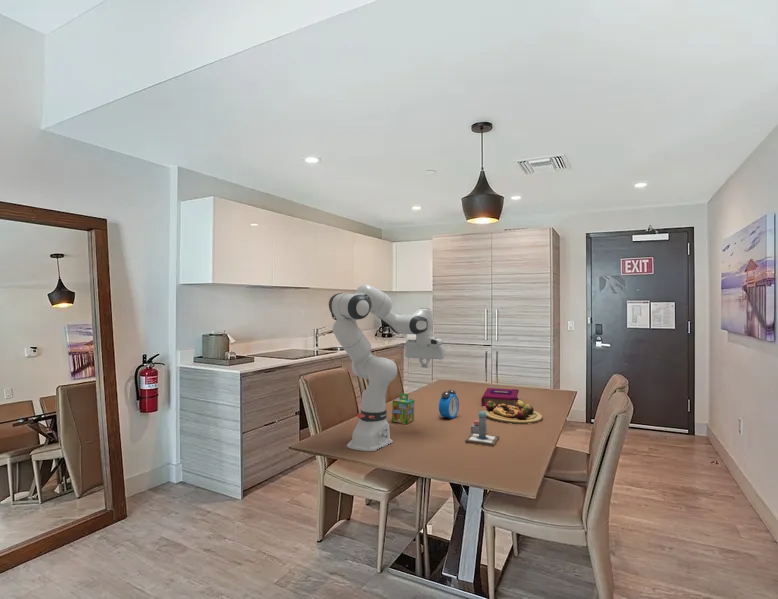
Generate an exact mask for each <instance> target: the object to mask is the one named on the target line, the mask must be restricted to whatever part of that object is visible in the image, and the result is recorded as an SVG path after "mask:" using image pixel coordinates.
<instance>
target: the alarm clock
mask: <svg viewBox="0 0 778 599" xmlns="http://www.w3.org/2000/svg"><path fill="white" fill-rule="evenodd" d="M459 408H460V401H459V398H458V395H457V392H456V391H455V390H454V389H449V390H447V391H446V390H445V391H443V392H442V393H441V396H440V398H439V402H438V412H439V415H440V416H441V417H443V418H448V420H451V419H455V418H456V416H457V415H458V413H459Z"/></svg>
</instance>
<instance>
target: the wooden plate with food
mask: <svg viewBox="0 0 778 599" xmlns="http://www.w3.org/2000/svg"><path fill="white" fill-rule="evenodd" d="M483 411H485V412H486V419H488V420H490V419H491V421H493V420H494V421H493V422H496V421H498V422H497V423H501V422H503V423H502V424H508V423H512V424H511V425H529V424H528V423H533V424H536V423H535V422H537V423H539V422H538V421H540V422H542V420H543V415H542V414H541V413H540V412H538V411H537V410H536V411H535V410H534V407H533V405H531V404H530V403H527V404H525V402H524V401H522V400H520V399H518V401H517V402H516V403H515V406H512V405H506V404H499V405H498V407H496V404H495V403H494V402H492V401H488V402H487V404H486V407H485V409H484V410H483Z"/></svg>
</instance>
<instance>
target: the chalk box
mask: <svg viewBox="0 0 778 599" xmlns="http://www.w3.org/2000/svg"><path fill="white" fill-rule="evenodd" d="M403 396H404V397H403ZM391 410H392V411H391V422H392V423H396V422H397V424H402V423H405V424H404V425H408V424H410V423H412V422H413V420H414V421H415V400H414V399H413V398H409V394H408V393H403V392H401V393H400V395H399V398H396V399H394V400H392V409H391ZM411 421H412V422H411ZM409 422H410V423H409Z"/></svg>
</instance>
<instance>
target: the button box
mask: <svg viewBox="0 0 778 599" xmlns="http://www.w3.org/2000/svg"><path fill="white" fill-rule="evenodd" d="M487 429H488V426H487V424H486V434H487V433H488V430H487ZM472 433H475V434H479V426H476V425H474V423H472V424H471V425H470V435H471V434H472Z"/></svg>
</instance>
